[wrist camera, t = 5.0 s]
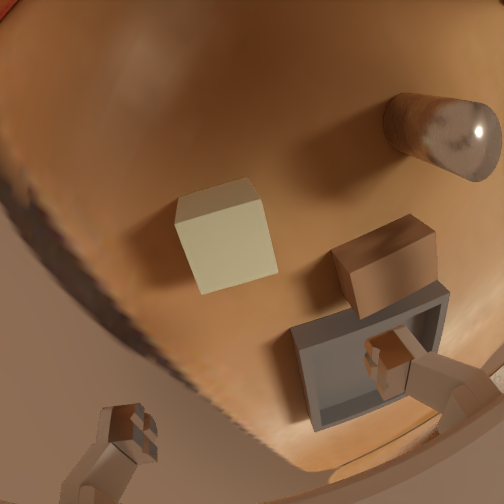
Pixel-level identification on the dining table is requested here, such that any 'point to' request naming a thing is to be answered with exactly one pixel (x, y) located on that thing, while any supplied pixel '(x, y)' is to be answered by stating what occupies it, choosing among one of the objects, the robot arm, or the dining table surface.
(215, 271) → the sage cube
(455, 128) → the metal cylinder
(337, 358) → the charcoal tray
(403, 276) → the walnut block
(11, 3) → the cracker box
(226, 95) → the dining table surface
